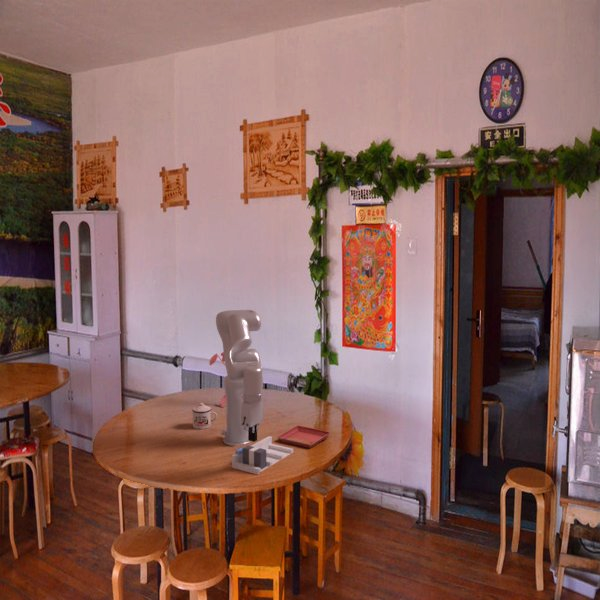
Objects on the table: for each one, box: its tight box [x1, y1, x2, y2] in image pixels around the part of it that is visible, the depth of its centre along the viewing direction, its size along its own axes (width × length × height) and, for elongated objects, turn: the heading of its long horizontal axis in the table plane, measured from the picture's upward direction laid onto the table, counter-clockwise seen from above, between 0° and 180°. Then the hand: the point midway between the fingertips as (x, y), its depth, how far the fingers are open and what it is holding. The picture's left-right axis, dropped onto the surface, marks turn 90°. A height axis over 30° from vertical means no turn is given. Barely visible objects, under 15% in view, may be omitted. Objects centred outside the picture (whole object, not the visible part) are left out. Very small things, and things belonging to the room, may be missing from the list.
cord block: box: [242, 445, 266, 469], centre depth 240 cm, size 9×4×7 cm, turn 59°
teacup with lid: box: [191, 402, 218, 430], centre depth 289 cm, size 12×9×12 cm
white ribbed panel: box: [231, 435, 294, 475], centre depth 248 cm, size 13×26×6 cm, turn 148°
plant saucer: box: [277, 425, 331, 449], centre depth 271 cm, size 18×18×3 cm
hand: (252, 440), depth 241 cm, fingers closed
